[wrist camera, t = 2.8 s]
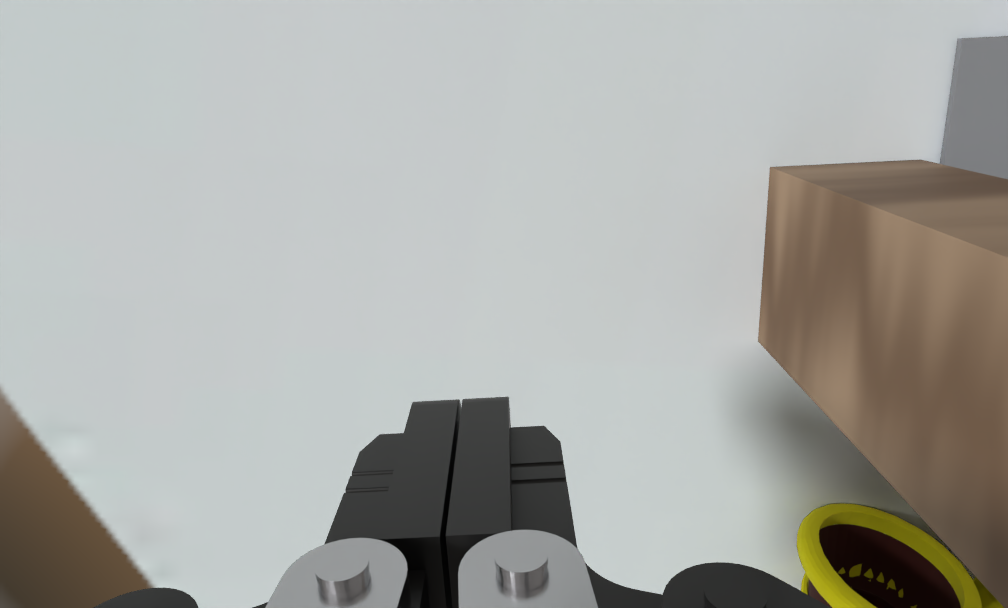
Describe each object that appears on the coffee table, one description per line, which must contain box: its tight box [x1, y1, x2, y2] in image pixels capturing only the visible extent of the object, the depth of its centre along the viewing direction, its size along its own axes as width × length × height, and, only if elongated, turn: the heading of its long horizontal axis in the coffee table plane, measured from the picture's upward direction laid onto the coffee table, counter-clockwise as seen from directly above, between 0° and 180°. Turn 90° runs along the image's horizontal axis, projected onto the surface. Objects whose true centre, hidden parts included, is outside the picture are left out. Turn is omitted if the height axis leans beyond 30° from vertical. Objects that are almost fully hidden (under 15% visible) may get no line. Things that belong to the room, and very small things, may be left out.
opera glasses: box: [797, 504, 1004, 608], centre depth 21 cm, size 10×5×5 cm, turn 100°
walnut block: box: [758, 160, 1008, 608], centre depth 15 cm, size 5×4×11 cm
